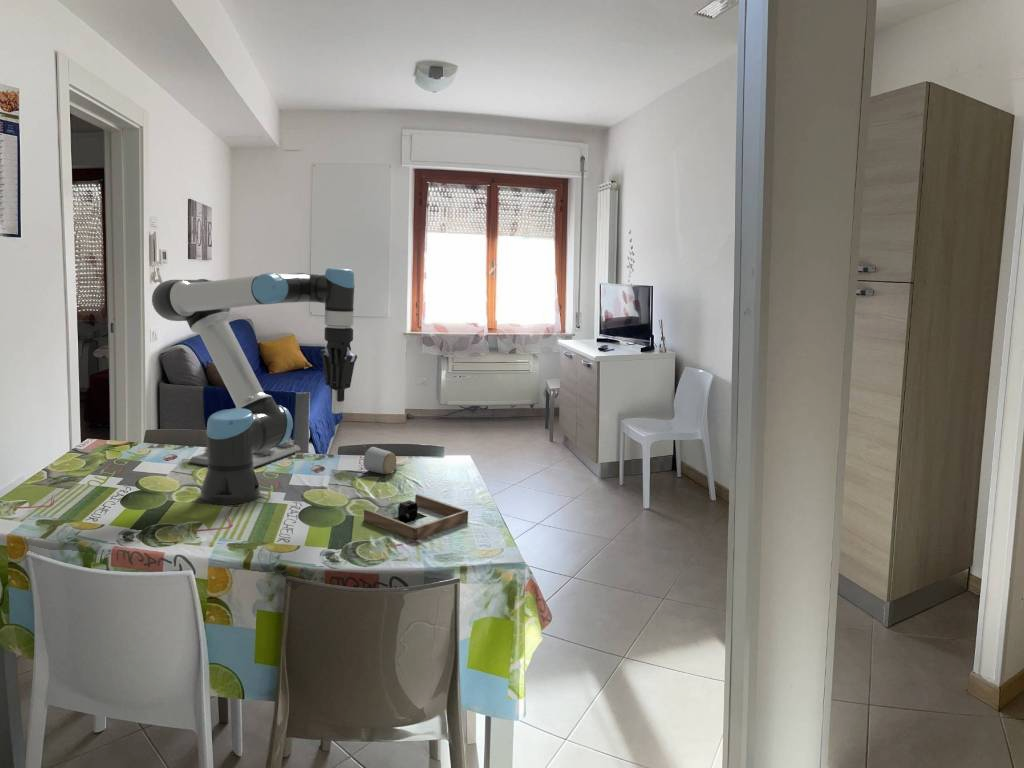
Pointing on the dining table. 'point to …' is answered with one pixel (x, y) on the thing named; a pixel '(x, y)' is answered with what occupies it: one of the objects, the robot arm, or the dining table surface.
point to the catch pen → (453, 519)
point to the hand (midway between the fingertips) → (337, 412)
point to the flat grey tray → (258, 454)
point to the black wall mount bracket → (408, 512)
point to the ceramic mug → (379, 461)
